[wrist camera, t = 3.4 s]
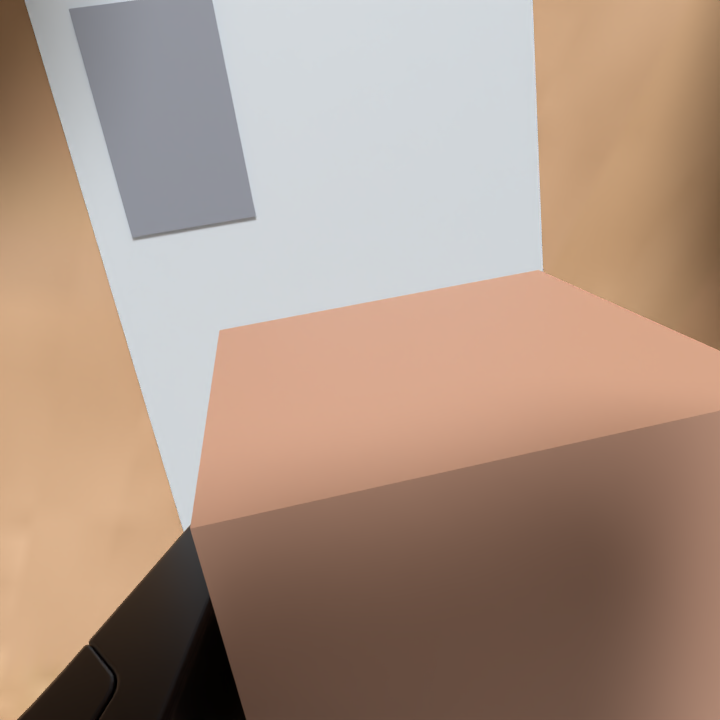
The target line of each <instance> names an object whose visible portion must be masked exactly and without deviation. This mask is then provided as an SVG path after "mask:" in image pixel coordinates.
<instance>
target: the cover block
mask: <svg viewBox="0 0 720 720" xmlns="http://www.w3.org/2000/svg"><path fill="white" fill-rule="evenodd" d="M190 530H191V534H192V537H193V540H194V544H195V547H196V551H197V554H198V557H199V561H200V564H201V568H202V571H203V574H204V578H205V581H206V585H207V588H208V591H209V595H210V598H211V602H212V605H213V608H214V612H215V615H216V619H217V622H218V625H219V629H220V632H221V636H222V639H223V642H224V646H225V649H226V653H227V656H228V659H229V663H230V666H231V670H232V673H233V676H234V680H235V683H236V687H237V690H238V693H239V697H240V700H241V704H242V707H243V710H244V714H245V717H246V720H720V351H719V350H717V349H715V348H712V347H710V346H708V345H706V344H703V343H701V342H699V341H697V340H695V339H692V338H690V337H688V336H686V335H683V334H681V333H679V332H677V331H674V330H672V329H670V328H668V327H665V326H663V325H661V324H659V323H656V322H654V321H652V320H650V319H648V318H645V317H643V316H641V315H639V314H636V313H634V312H632V311H630V310H627V309H625V308H623V307H621V306H618V305H616V304H614V303H612V302H609V301H607V300H605V299H603V298H601V297H598V296H596V295H594V294H592V293H589V292H587V291H585V290H583V289H580V288H578V287H576V286H574V285H571V284H569V283H567V282H565V281H562V280H560V279H558V278H556V277H554V276H551V275H549V274H547V273H545V272H542V271H540V270H535V271H530V272H525V273H520V274H514V275H509V276H504V277H498V278H493V279H488V280H483V281H477V282H472V283H467V284H461V285H456V286H451V287H446V288H440V289H435V290H430V291H424V292H419V293H414V294H409V295H403V296H398V297H393V298H387V299H382V300H377V301H372V302H366V303H361V304H356V305H350V306H345V307H340V308H335V309H329V310H324V311H319V312H313V313H308V314H303V315H297V316H292V317H287V318H282V319H276V320H271V321H266V322H260V323H255V324H250V325H245V326H239V327H234V328H229V329H223V330H219V337H218V343H217V350H216V357H215V364H214V370H213V377H212V384H211V391H210V397H209V404H208V411H207V418H206V424H205V431H204V438H203V445H202V451H201V458H200V465H199V472H198V478H197V485H196V492H195V499H194V505H193V512H192V519H191V526H190Z"/></svg>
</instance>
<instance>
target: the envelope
mask: <svg viewBox="0 0 720 720" xmlns="http://www.w3.org/2000/svg"><path fill="white" fill-rule="evenodd" d="M25 4H26V7H27V10H28V14H29V17H30V20H31V24H32V27H33V30H34V34H35V37H36V40H37V44H38V47H39V50H40V54H41V57H42V60H43V64H44V67H45V70H46V74H47V77H48V80H49V84H50V87H51V90H52V94H53V97H54V100H55V104H56V107H57V110H58V114H59V117H60V120H61V124H62V127H63V130H64V134H65V137H66V140H67V144H68V147H69V150H70V154H71V157H72V160H73V164H74V167H75V171H76V174H77V177H78V181H79V184H80V187H81V191H82V194H83V197H84V201H85V204H86V207H87V211H88V214H89V217H90V221H91V224H92V227H93V231H94V234H95V237H96V241H97V244H98V247H99V251H100V254H101V257H102V261H103V264H104V267H105V271H106V274H107V277H108V281H109V284H110V287H111V291H112V294H113V297H114V301H115V304H116V307H117V311H118V314H119V317H120V321H121V324H122V327H123V331H124V334H125V337H126V341H127V344H128V347H129V351H130V354H131V357H132V361H133V364H134V367H135V371H136V374H137V378H138V381H139V384H140V388H141V391H142V394H143V398H144V401H145V404H146V408H147V411H148V414H149V418H150V421H151V424H152V428H153V431H154V434H155V438H156V441H157V444H158V448H159V451H160V454H161V458H162V461H163V464H164V468H165V471H166V474H167V478H168V481H169V484H170V488H171V491H172V494H173V498H174V501H175V504H176V508H177V511H178V514H179V518H180V521H181V524H182V528H183V531H185V530H186V529H187V528H188V527H189V526H190V524H191V519H192V512H193V505H194V499H195V492H196V485H197V478H198V472H199V465H200V458H201V451H202V445H203V438H204V431H205V424H206V418H207V411H208V404H209V397H210V391H211V384H212V377H213V370H214V364H215V357H216V350H217V343H218V337H219V330H223V329H229V328H234V327H239V326H245V325H250V324H255V323H260V322H266V321H271V320H276V319H282V318H287V317H292V316H297V315H303V314H308V313H313V312H319V311H324V310H329V309H335V308H340V307H345V306H350V305H356V304H361V303H366V302H372V301H377V300H382V299H387V298H393V297H398V296H403V295H409V294H414V293H419V292H424V291H430V290H435V289H440V288H446V287H451V286H456V285H461V284H467V283H472V282H477V281H483V280H488V279H493V278H498V277H504V276H509V275H514V274H520V273H525V272H530V271H535V270H540V271H542V272H543V258H542V232H541V206H540V180H539V154H538V128H537V102H536V76H535V50H534V24H533V0H25Z"/></svg>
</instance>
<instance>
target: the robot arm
mask: <svg viewBox="0 0 720 720" xmlns="http://www.w3.org/2000/svg"><path fill="white" fill-rule="evenodd" d="M190 526H191V524H190ZM190 526H189V527H188V528H187V529H186V530H185V531H184V532H183V534H182V535H181V536H180V537H179V538H178V539H177V541H176V542H175V543H174V544H173V545H172V546H171V547H170V549H169V550H168V551H167V552H166V553H165V554H164V555H163V557H162V558H161V559H160V560H159V561H158V562H157V563H156V565H155V566H154V567H153V568H152V569H151V570H150V572H149V573H148V574H147V575H146V576H145V577H144V578H143V580H142V581H141V582H140V583H139V584H138V585H137V586H136V588H135V589H134V590H133V591H132V592H131V593H130V594H129V596H128V597H127V598H126V599H125V600H124V601H123V603H122V604H121V605H120V606H119V607H118V608H117V609H116V611H115V612H114V613H113V614H112V615H111V616H110V617H109V619H108V620H107V621H106V622H105V623H104V624H103V625H102V627H101V628H100V629H99V630H98V631H97V632H96V634H95V635H94V636H93V637H92V638H91V639H90V641H89V645H85V646H84V647H83V648H82V649H81V650H80V652H79V653H78V654H77V655H76V656H75V657H74V658H73V660H72V661H71V662H70V663H69V664H68V665H67V667H66V668H65V669H64V670H63V671H62V672H61V673H60V674H59V675H58V676H57V678H56V679H55V680H54V681H53V682H52V683H51V684H50V685H49V686H48V687H47V689H46V690H45V691H44V692H43V693H42V694H41V695H40V696H39V697H38V698H37V700H36V701H35V702H34V703H33V704H32V705H31V706H30V707H29V708H28V709H27V710H26V711H25V712H24V713H23V714H22V715H21V716H20V717H19V718H18V719H17V720H246V717H245V714H244V710H243V707H242V704H241V700H240V697H239V693H238V690H237V687H236V683H235V680H234V676H233V673H232V670H231V666H230V663H229V659H228V656H227V653H226V649H225V646H224V642H223V639H222V636H221V632H220V629H219V625H218V622H217V619H216V615H215V612H214V608H213V605H212V602H211V598H210V595H209V591H208V588H207V585H206V581H205V578H204V574H203V571H202V568H201V564H200V561H199V557H198V554H197V551H196V547H195V544H194V540H193V537H192V534H191V530H190Z"/></svg>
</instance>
